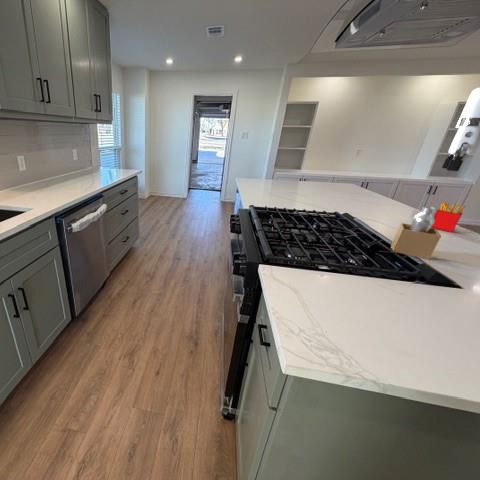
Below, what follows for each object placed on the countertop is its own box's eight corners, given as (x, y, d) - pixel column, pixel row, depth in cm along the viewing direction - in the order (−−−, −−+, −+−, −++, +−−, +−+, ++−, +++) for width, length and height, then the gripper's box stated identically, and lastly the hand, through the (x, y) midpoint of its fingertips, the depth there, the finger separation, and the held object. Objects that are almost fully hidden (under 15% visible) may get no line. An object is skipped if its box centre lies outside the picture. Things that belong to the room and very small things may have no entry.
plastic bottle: (396, 252, 108) (417, 207, 101) (399, 248, 113) (419, 204, 105) (416, 257, 104) (440, 211, 96) (419, 253, 108) (441, 208, 100)
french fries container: (430, 225, 146) (442, 201, 140) (453, 230, 139) (466, 205, 133) (428, 227, 142) (440, 203, 136) (451, 232, 135) (465, 207, 130)
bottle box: (423, 254, 109) (436, 229, 104) (427, 262, 101) (441, 236, 97) (390, 246, 115) (400, 222, 110) (391, 254, 108) (402, 228, 103)
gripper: (493, 123, 89) (468, 172, 95) (478, 124, 101) (457, 168, 108) (462, 122, 93) (440, 170, 100) (452, 124, 105) (433, 166, 112)
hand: (449, 169), depth 104 cm, fingers open, 9 cm apart
